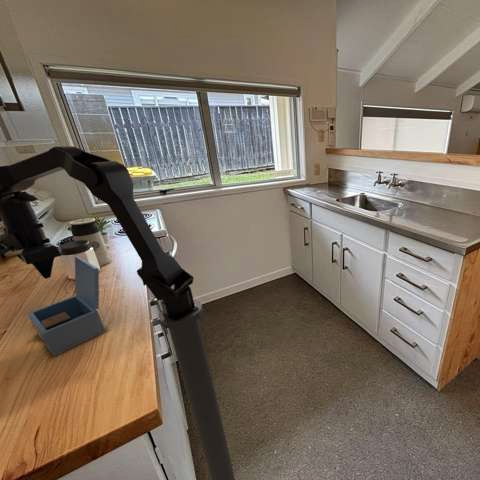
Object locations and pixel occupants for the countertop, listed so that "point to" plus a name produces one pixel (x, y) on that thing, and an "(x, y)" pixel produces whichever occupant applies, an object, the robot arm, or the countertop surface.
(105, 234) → the house plant
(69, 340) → the chest
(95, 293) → the lid
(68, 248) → the jar
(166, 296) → the robot arm
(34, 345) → the countertop surface
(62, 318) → the block
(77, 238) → the travel mug
